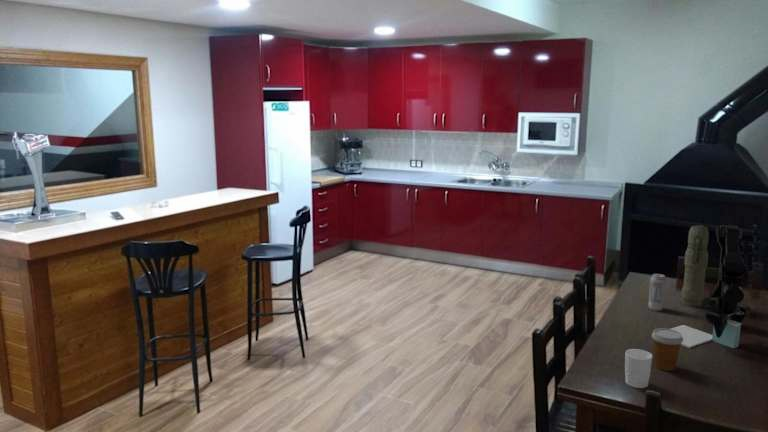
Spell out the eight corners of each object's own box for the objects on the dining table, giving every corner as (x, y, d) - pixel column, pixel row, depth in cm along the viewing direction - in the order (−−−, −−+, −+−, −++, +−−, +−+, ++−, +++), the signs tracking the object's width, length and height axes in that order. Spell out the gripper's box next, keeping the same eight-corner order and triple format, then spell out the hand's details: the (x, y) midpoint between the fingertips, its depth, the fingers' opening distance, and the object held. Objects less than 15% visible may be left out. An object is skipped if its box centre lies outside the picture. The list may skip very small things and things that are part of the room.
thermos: (702, 301, 256) (710, 224, 250) (704, 309, 246) (712, 229, 239) (680, 298, 260) (687, 222, 254) (680, 306, 250) (688, 228, 243)
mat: (682, 326, 228) (683, 324, 228) (717, 338, 216) (717, 336, 216) (655, 334, 220) (655, 333, 220) (689, 348, 208) (689, 346, 208)
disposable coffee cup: (644, 360, 199) (647, 327, 197) (672, 360, 199) (675, 327, 196) (656, 373, 190) (659, 339, 187) (685, 373, 189) (689, 339, 187)
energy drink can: (666, 309, 247) (669, 275, 244) (658, 312, 244) (661, 278, 241) (653, 305, 252) (655, 272, 249) (645, 308, 248) (647, 275, 246)
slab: (716, 338, 216) (719, 316, 214) (738, 346, 209) (741, 323, 208) (711, 340, 215) (714, 317, 213) (733, 348, 208) (736, 324, 206)
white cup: (618, 378, 187) (620, 349, 185) (641, 376, 187) (644, 348, 185) (630, 390, 179) (633, 360, 177) (655, 388, 180) (657, 358, 178)
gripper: (723, 284, 220) (719, 322, 223) (693, 292, 211) (689, 332, 214) (753, 292, 210) (749, 332, 213) (723, 301, 201) (718, 343, 204)
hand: (725, 334), depth 211 cm, fingers open, 9 cm apart
